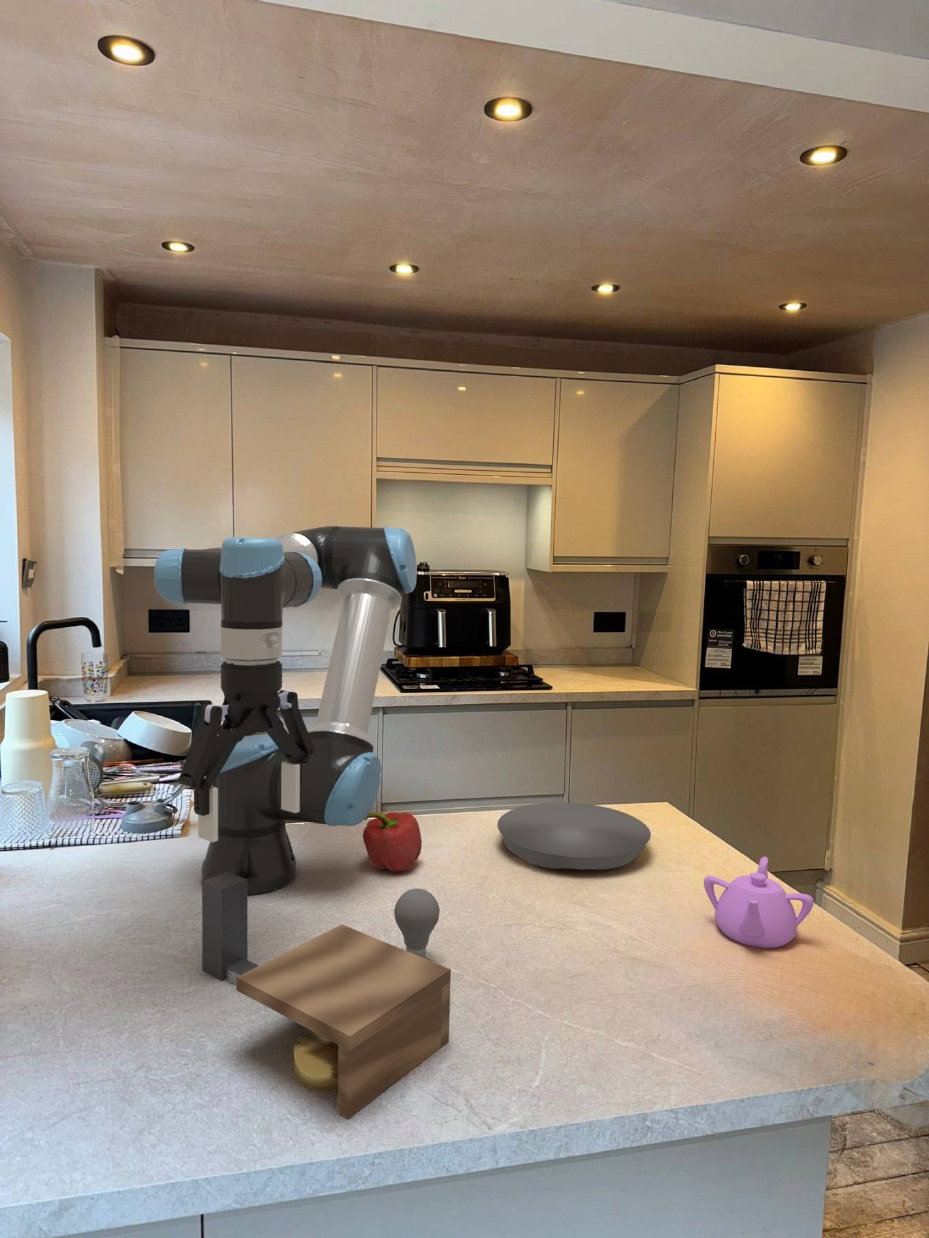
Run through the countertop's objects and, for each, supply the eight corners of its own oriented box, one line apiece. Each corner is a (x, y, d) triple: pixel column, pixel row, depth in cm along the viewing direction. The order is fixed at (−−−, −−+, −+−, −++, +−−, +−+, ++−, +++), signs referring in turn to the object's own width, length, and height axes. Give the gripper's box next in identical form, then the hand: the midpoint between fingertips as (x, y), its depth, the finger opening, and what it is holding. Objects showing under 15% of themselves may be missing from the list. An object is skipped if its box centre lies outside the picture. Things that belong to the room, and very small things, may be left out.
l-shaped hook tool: (202, 970, 106) (202, 881, 105) (227, 958, 110) (227, 871, 109) (322, 1034, 94) (323, 933, 92) (347, 1018, 97) (348, 920, 96)
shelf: (236, 1051, 90) (236, 977, 89) (340, 989, 103) (341, 924, 102) (348, 1118, 80) (349, 1036, 79) (448, 1041, 93) (450, 969, 92)
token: (279, 1074, 87) (280, 1047, 86) (328, 1043, 92) (328, 1017, 92) (326, 1103, 83) (327, 1074, 82) (374, 1068, 88) (374, 1041, 88)
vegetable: (368, 883, 135) (369, 823, 134) (351, 860, 144) (352, 804, 143) (430, 874, 139) (432, 816, 138) (410, 852, 149) (411, 798, 148)
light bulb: (444, 956, 112) (446, 885, 111) (428, 977, 106) (430, 903, 105) (403, 948, 114) (405, 878, 113) (385, 968, 108) (387, 895, 107)
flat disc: (503, 819, 168) (504, 798, 168) (643, 828, 164) (644, 807, 164) (488, 875, 141) (489, 850, 140) (656, 889, 137) (657, 863, 136)
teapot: (761, 909, 129) (765, 854, 128) (822, 952, 116) (826, 891, 115) (694, 916, 126) (697, 860, 125) (748, 961, 113) (753, 899, 112)
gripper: (187, 675, 91) (188, 860, 93) (341, 653, 112) (339, 805, 114) (146, 668, 96) (148, 845, 98) (302, 648, 116) (300, 794, 118)
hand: (251, 824), depth 106 cm, fingers open, 13 cm apart
